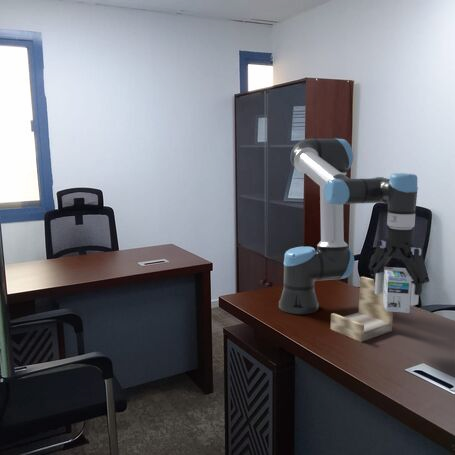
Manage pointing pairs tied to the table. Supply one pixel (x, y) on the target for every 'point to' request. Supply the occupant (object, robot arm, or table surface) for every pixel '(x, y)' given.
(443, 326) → the table surface
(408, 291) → the light bulb box
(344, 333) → the board
